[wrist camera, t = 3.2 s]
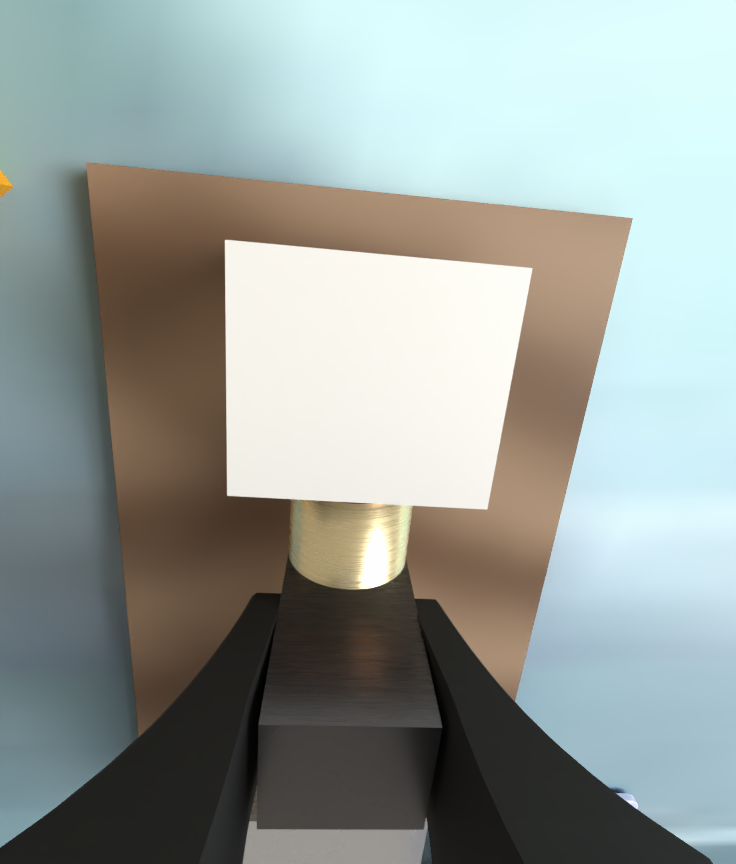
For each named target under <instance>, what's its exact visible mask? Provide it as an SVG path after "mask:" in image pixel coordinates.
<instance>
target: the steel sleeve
mask: <svg viewBox="0 0 736 864" xmlns="http://www.w3.org/2000/svg"><path fill="white" fill-rule="evenodd" d="M427 828H428V824H427V818H426V820H425V825H424V830H316V829H257V788H256V792H255V797H254V801H253V806H252V810H251V815H250V821H249V826H248V831H247V837H246V844H245V851H244V858H243V864H421V860H422V855H423V850H424V844H425V839H426V834H427Z"/></svg>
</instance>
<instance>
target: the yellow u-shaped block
mask: <svg viewBox="0 0 736 864" xmlns="http://www.w3.org/2000/svg"><path fill="white" fill-rule="evenodd" d="M12 187H13V186H12V184H11V183H10V182H9V181H8V179H7V178H6V177H5V176H4V175H3V173H2V172H1V171H0V197H1V196H2V195H4V194H5V193H6V192H7V191H9V190H10V189H11V188H12Z"/></svg>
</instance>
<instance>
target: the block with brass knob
mask: <svg viewBox="0 0 736 864" xmlns="http://www.w3.org/2000/svg"><path fill="white" fill-rule="evenodd" d="M412 508H413V506H410V505H391V504H372V503H353V502H335V501H316V500H297V499H291V507H290V532H289V552H288V558H287V563H286V569H285V575H284V581H283V586H282V592H281V598H280V604H279V609H278V615H277V621H276V627H275V632H274V638H273V644H272V650H271V655H270V661H269V667H268V672H267V678H266V684H265V690H264V695H263V701H262V707H261V713H260V718H259V724H258V777H257V829H316V830H424V825H425V820H426V814H427V809H428V803H429V798H430V793H431V787H432V782H433V776H434V771H435V765H436V760H437V754H438V749H439V744H440V738H441V733H442V724H441V719H440V714H439V710H438V705H437V700H436V696H435V691H434V686H433V682H432V677H431V672H430V668H429V663H428V658H427V654H426V649H425V644H424V640H423V635H422V631H421V628H420V625H419V622H418V618H417V614H418V612H417V607H416V602H415V598H414V593H413V588H412V584H411V579H410V574H409V570H408V565H407V560H406V554H407V546H408V539H409V531H410V523H411V516H412Z"/></svg>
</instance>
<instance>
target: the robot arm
mask: <svg viewBox="0 0 736 864" xmlns="http://www.w3.org/2000/svg"><path fill="white" fill-rule="evenodd" d="M280 598H281V594H280V593H255V594H254V595H253V596H252V597H251V598H250V600H249V602H248V604H247V606H246V607H245V609H244V611H243V612H242V614H241V616H240V617H239V619H238V620H237V622H236V623H235V625H234V626H233V628H232V629H231V631H230V632H229V634H228V635H227V636H226V638H225V639H224V641H223V642H222V643H221V645H220V646H219V647H218V649H217V650H216V651H215V653H214V654H213V655H212V657H211V658H210V659H209V661H208V662H207V663H206V664H205V666H204V667H203V668H202V669H201V670H200V672H199V673H198V674H197V675H196V676H195V678H194V679H193V680H192V681H191V682H190V684H189V685H188V686H187V687H186V688H185V690H184V691H183V692H182V693H181V694H180V695H179V696H178V697H177V698H176V700H175V701H174V702H173V703H172V704H171V705H170V706H169V707H168V708H167V709H166V710H165V711H164V712H163V713H162V714H161V715H160V716H159V717H158V719H157V720H156V721H155V722H154V723H153V724H152V725H151V726H150V727H149V728H148V729H147V730H145V731H144V732H143V733H142V734H141V735H140V736H139V737H138V738H137V739H136V740H135V741H134V742H133V743H132V744H131V745H130V746H128V747H127V748H126V749H125V750H124V751H123V752H122V753H121V754H120V755H119V756H118V757H116V758H115V759H114V760H113V761H112V762H111V763H110V764H109V765H107V766H106V767H105V768H104V769H103V770H102V771H100V772H99V773H98V774H97V775H95V776H94V777H93V778H92V779H90V780H89V781H88V782H87V783H86V784H84V785H83V786H82V787H81V788H79V789H78V790H77V791H76V792H75V793H73V794H72V795H71V796H70V797H68V798H67V799H66V800H65V801H63V802H62V803H61V804H60V805H59V806H57V807H56V808H55V809H53V810H52V811H51V812H49V813H48V814H47V815H45V816H44V817H43V818H41V819H40V820H39V821H37V822H36V823H34V824H33V825H32V826H30V827H29V828H27V829H26V830H25V831H23V832H22V833H20V834H19V835H18V836H16V837H15V838H13V839H12V840H11V841H9V842H8V843H6V844H5V845H4V846H2V847H1V848H0V864H243V858H244V851H245V844H246V837H247V831H248V826H249V821H250V815H251V810H252V806H253V801H254V797H255V792H256V788H257V777H258V724H259V718H260V713H261V707H262V701H263V695H264V690H265V684H266V678H267V672H268V667H269V661H270V655H271V650H272V644H273V638H274V632H275V627H276V621H277V615H278V609H279V604H280ZM415 602H416V607H417V612H418V614H417V618H418V622H419V625H420V628H421V631H422V635H423V640H424V644H425V649H426V654H427V658H428V663H429V668H430V672H431V677H432V682H433V686H434V691H435V696H436V700H437V705H438V710H439V714H440V719H441V724H442V733H441V738H440V744H439V749H438V754H437V760H436V765H435V771H434V776H433V782H432V787H431V793H430V798H429V803H428V809H427V814H426V818H427V824H428V831H429V838H430V846H431V855H432V864H713V863H712V862H711V860H710V859H709V858H708V857H706V856H705V855H703V854H702V853H700V852H699V851H697V850H696V849H694V848H693V847H691V846H690V845H688V844H687V843H685V842H684V841H682V840H681V839H679V838H678V837H676V836H675V835H673V834H672V833H670V832H669V831H667V830H666V829H664V828H663V827H662V826H660V825H659V824H657V823H656V822H654V821H653V820H651V819H650V818H648V817H647V816H646V815H644V814H643V813H641V812H640V811H639V810H637V809H638V804H637V802H636V801H635V799H634V797H633V796H632V795H631V794H628V793H615V792H613V791H612V790H611V789H610V788H608V787H607V786H606V785H605V784H603V783H602V782H601V781H600V780H598V779H597V778H596V777H595V776H593V775H592V774H591V773H590V772H589V771H587V770H586V769H585V768H584V767H583V766H582V765H580V764H579V763H578V762H577V761H576V760H575V759H573V758H572V757H571V756H570V755H569V754H568V753H567V752H565V751H564V750H563V749H562V748H561V747H560V746H559V745H558V744H556V743H555V742H554V741H553V740H552V739H551V738H550V737H549V736H548V735H547V734H546V733H545V732H544V731H543V730H542V729H541V728H540V727H539V726H538V725H537V724H536V723H535V722H534V721H533V720H532V719H531V718H530V717H529V716H528V715H527V714H526V713H525V712H524V711H523V710H522V709H521V708H520V707H519V706H518V705H517V704H516V703H515V702H514V700H513V699H512V698H511V697H510V696H509V695H508V694H507V692H506V691H505V690H504V689H503V688H502V687H501V686H500V684H499V683H498V682H497V681H496V680H495V678H494V677H493V676H492V675H491V674H490V672H489V671H488V670H487V669H486V667H485V666H484V665H483V664H482V662H481V661H480V660H479V658H478V657H477V656H476V655H475V653H474V652H473V651H472V649H471V648H470V647H469V645H468V644H467V643H466V641H465V640H464V639H463V637H462V636H461V634H460V633H459V632H458V630H457V629H456V627H455V626H454V624H453V623H452V622H451V620H450V619H449V617H448V616H447V614H446V613H445V611H444V610H443V608H442V607H441V605H440V604H439V603H438V602H437V600H436V599H415Z"/></svg>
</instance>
